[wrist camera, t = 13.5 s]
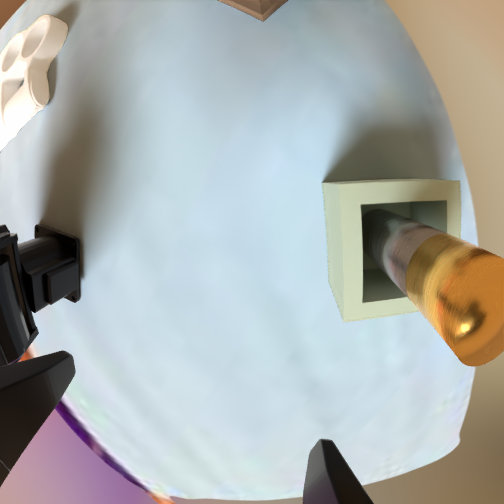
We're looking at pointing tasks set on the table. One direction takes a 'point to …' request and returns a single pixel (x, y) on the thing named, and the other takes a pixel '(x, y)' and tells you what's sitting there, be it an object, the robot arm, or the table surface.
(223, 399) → the table surface
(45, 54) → the knuckle duster
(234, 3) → the brown square open box
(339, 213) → the cream square hollow block
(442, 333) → the gold and grey cylinder
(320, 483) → the robot arm
